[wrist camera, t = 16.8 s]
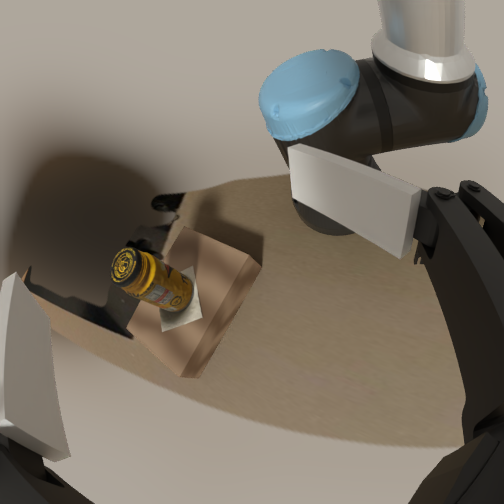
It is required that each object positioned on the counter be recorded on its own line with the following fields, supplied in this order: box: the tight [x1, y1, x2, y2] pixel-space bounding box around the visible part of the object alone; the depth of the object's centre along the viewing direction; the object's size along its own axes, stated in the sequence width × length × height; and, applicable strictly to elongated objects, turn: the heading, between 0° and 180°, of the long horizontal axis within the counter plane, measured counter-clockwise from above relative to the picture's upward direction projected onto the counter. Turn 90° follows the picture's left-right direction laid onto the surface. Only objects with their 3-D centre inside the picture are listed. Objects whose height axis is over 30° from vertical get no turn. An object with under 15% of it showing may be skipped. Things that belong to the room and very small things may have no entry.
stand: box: [127, 226, 262, 378], centre depth 45 cm, size 20×14×5 cm
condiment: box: [110, 247, 202, 332], centre depth 38 cm, size 7×8×12 cm
